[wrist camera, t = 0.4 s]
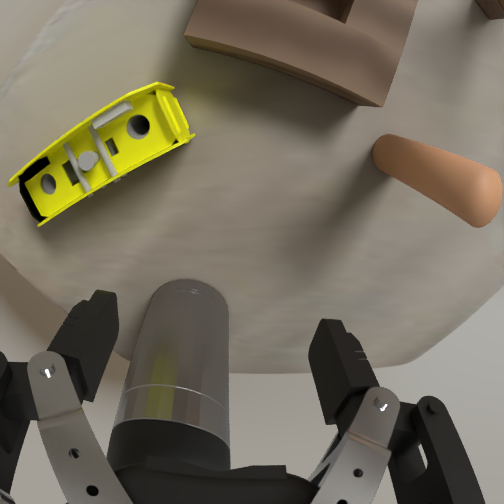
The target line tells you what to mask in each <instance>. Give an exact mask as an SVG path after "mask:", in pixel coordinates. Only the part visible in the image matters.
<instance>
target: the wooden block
mask: <svg viewBox="0 0 504 504" xmlns="http://www.w3.org/2000/svg"><path fill="white" fill-rule="evenodd" d="M476 1H477V2H478V4H479V5H480V6H481V8H482V9H483V10H484V12H485V13H486V14H487V16H488V17H489V18H490V19H491V20H494V19H503V18H504V0H476Z"/></svg>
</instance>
